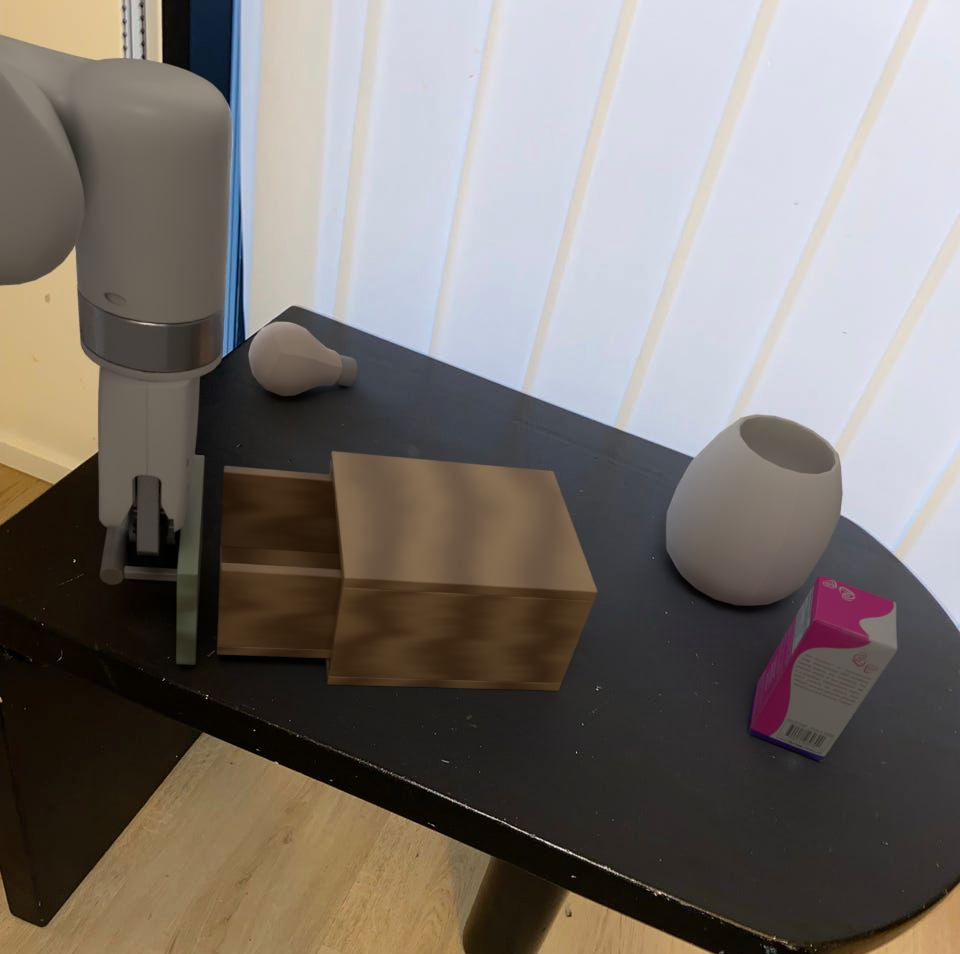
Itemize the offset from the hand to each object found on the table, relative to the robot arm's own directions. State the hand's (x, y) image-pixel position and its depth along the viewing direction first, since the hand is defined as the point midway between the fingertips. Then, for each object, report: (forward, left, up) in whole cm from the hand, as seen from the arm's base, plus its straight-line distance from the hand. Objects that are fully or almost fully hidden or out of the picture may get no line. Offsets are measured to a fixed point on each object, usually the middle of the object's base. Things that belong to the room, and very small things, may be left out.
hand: (154, 575), depth 66 cm
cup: (+22, +42, -3) cm, 47 cm away
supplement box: (+35, +31, -3) cm, 47 cm away
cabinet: (+12, +16, -3) cm, 20 cm away
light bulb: (-18, +28, -3) cm, 33 cm away
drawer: (+4, +6, -2) cm, 7 cm away
